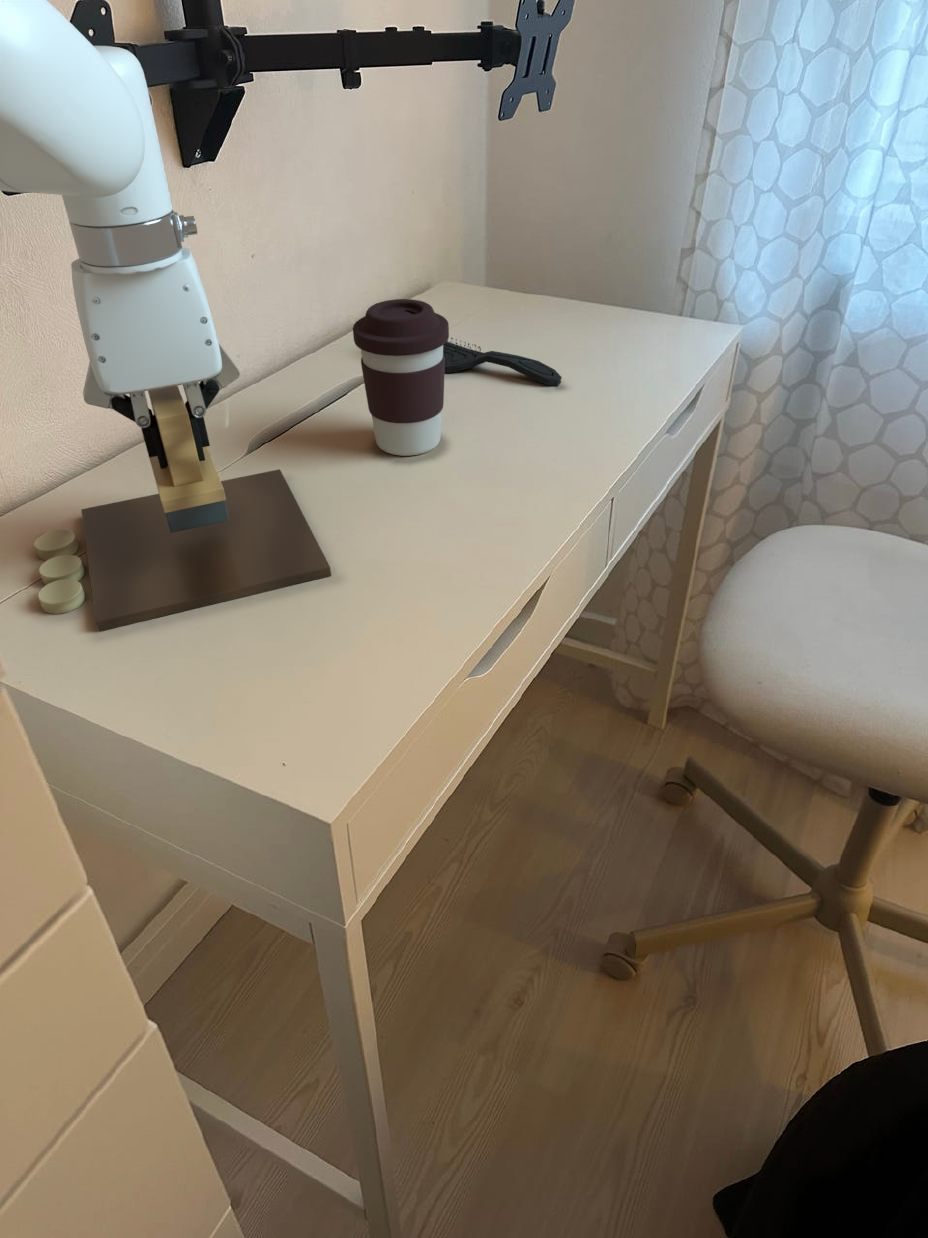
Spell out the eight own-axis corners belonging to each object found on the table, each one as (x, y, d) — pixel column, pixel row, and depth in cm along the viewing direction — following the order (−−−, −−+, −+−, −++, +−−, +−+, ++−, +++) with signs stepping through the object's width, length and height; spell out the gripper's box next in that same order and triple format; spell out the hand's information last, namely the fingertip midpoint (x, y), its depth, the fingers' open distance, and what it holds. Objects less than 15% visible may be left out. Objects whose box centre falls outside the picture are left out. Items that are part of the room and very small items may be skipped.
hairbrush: (547, 374, 108) (375, 331, 117) (544, 403, 110) (376, 358, 119) (575, 352, 113) (408, 312, 123) (572, 379, 116) (409, 338, 125)
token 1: (34, 563, 83) (30, 552, 82) (42, 542, 86) (38, 531, 85) (74, 558, 83) (71, 547, 82) (81, 538, 86) (77, 527, 85)
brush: (169, 533, 76) (142, 431, 70) (152, 471, 85) (127, 376, 79) (230, 520, 78) (208, 419, 72) (207, 460, 87) (186, 366, 81)
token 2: (45, 592, 79) (41, 581, 78) (40, 572, 82) (36, 561, 81) (87, 581, 80) (83, 570, 80) (81, 561, 83) (78, 550, 82)
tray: (98, 631, 74) (95, 622, 74) (84, 517, 89) (81, 508, 88) (331, 575, 80) (330, 566, 79) (281, 477, 95) (280, 468, 94)
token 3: (44, 618, 76) (40, 607, 75) (39, 596, 78) (35, 585, 78) (88, 606, 77) (84, 595, 76) (82, 585, 80) (78, 574, 79)
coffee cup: (369, 467, 96) (356, 329, 87) (360, 428, 104) (346, 297, 95) (460, 457, 97) (456, 320, 88) (444, 419, 105) (438, 289, 96)
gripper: (225, 215, 73) (262, 424, 84) (13, 241, 68) (83, 458, 80) (243, 238, 67) (280, 458, 79) (14, 268, 63) (88, 497, 74)
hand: (180, 456), depth 79 cm, fingers closed on brush, 2 cm apart
